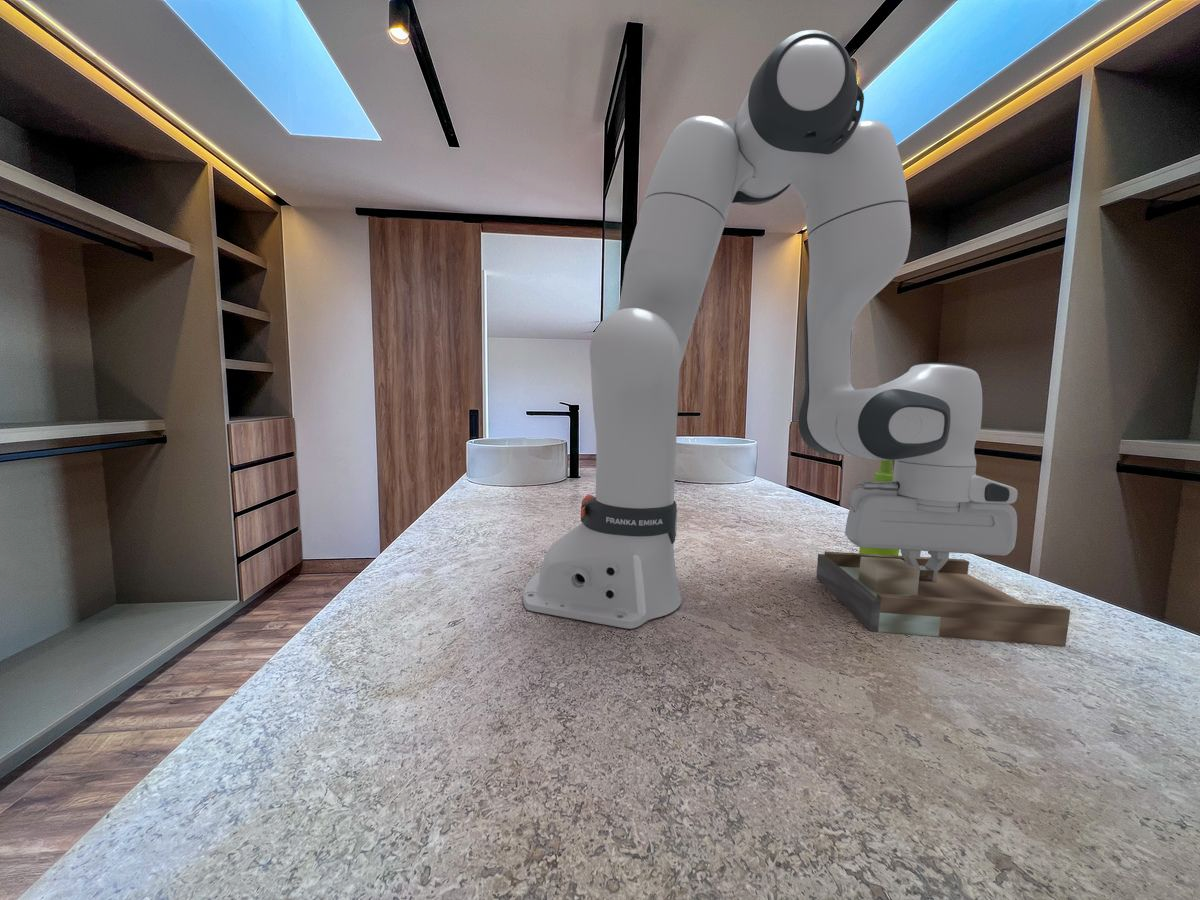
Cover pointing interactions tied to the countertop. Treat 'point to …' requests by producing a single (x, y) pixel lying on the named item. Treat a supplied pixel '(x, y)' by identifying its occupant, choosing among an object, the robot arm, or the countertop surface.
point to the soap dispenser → (882, 476)
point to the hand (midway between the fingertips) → (921, 580)
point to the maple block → (889, 575)
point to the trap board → (942, 605)
